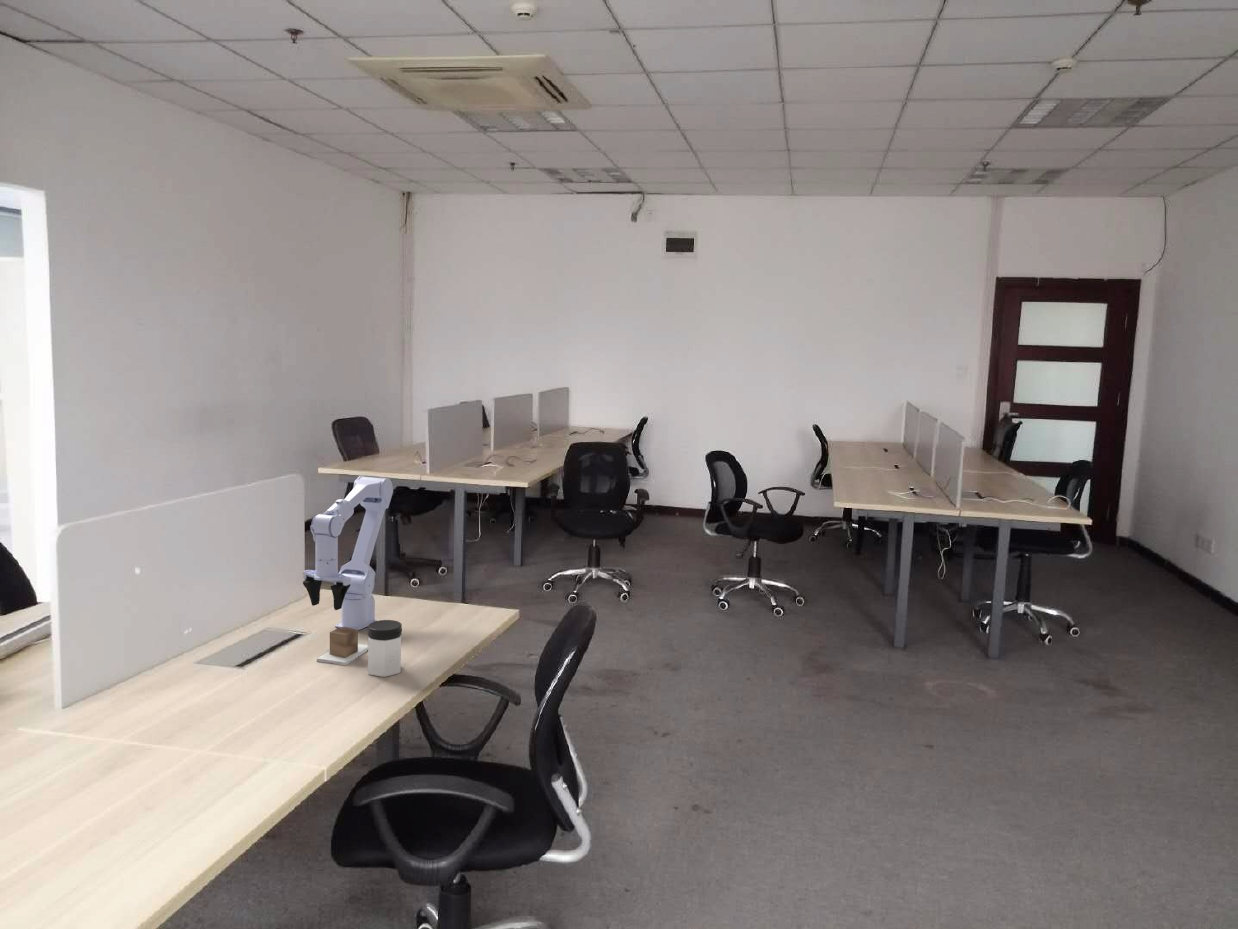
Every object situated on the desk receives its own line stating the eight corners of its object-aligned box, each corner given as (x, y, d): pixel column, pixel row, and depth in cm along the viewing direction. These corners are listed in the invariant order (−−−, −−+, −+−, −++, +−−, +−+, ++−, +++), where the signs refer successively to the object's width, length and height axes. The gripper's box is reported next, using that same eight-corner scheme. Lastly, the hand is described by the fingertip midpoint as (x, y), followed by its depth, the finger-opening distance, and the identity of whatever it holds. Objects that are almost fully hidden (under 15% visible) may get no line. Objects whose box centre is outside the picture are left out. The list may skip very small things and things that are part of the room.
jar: (376, 680, 205) (376, 633, 203) (360, 669, 211) (360, 624, 209) (408, 671, 211) (409, 626, 209) (392, 661, 217) (393, 617, 215)
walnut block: (342, 648, 222) (342, 626, 221) (357, 651, 220) (358, 629, 219) (329, 654, 217) (329, 632, 217) (345, 657, 216) (345, 635, 215)
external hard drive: (369, 651, 225) (345, 668, 213) (342, 647, 227) (316, 663, 215) (369, 645, 225) (345, 662, 213) (342, 641, 226) (316, 657, 214)
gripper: (294, 557, 224) (294, 606, 226) (338, 565, 219) (338, 615, 221) (313, 552, 231) (313, 599, 233) (355, 559, 225) (355, 608, 227)
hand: (326, 606), depth 227 cm, fingers open, 7 cm apart
